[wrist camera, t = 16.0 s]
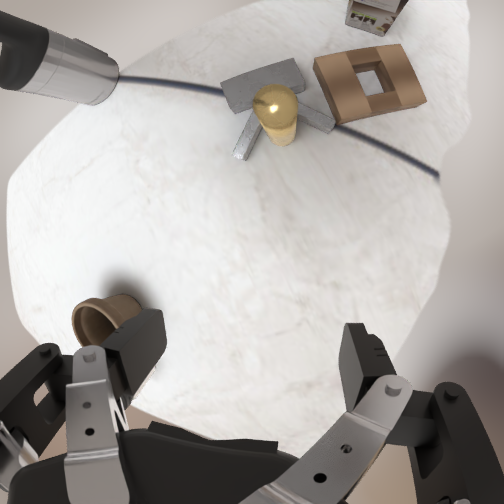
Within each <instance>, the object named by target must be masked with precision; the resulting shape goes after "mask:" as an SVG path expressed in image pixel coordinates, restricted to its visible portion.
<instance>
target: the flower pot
mask: <svg viewBox="0 0 504 504" xmlns="http://www.w3.org/2000/svg"><path fill="white" fill-rule="evenodd" d="M141 311H142V309H141V307H140V305H139V303H138V302H137V301H136V300H135V299H134V298H132V297H131V296H129V295H125V294H121V295H116V296H112V297H108V298H105V299H99V298H90V299H87V300H85V301H83V302H81V303H79V304H78V305H77V306H76V307H75V308H74V310H73V313H72V326H73V330H74V333H75V336H76V338H77V340H78V342H79V343H80V345H81V346H82V347H85V346H91V345H95V346H99V345H101V344H102V343H103V342H104V341H105V340H106V339H107V338H108V337H109V336H110V335H111V334H112V333H113V332H114V331H115V330H116V329H117V328H119V326H120V325H121V324H123V323H124V322H125V321H126V320H128V319H130V318H132V317H134V316H135V317H136V316H137V315H138V314H139V313H140V312H141Z"/></svg>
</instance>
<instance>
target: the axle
mask: <svg viewBox="0 0 504 504" xmlns="http://www.w3.org/2000/svg"><path fill="white" fill-rule="evenodd" d="M253 110H254V113H255V115H256V116H257V118H258V120H259V121H260V123H261V125H262V126H263V128H264V130H265V131H266V133H267V135H268V137H269V138H270V140H271V141H272V142H273V143H274V144H275V145H277V146H287V145H289V144H290V143H292V142H293V140H294V138H295V133H296V123H297V113H298V100H297V97H296V95H295V94H294V92H293V91H292V90H291V89H289V88H288V87H286V86H284V85H280V84H270V85H267V86H264V87H262V88H261V89H260V90H259V91H258V92H257V93H256V94H255V96H254V99H253Z"/></svg>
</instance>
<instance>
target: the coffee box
mask: <svg viewBox="0 0 504 504" xmlns="http://www.w3.org/2000/svg"><path fill="white" fill-rule="evenodd" d="M407 2H408V0H349V3H348V10H347V16H346V22H345V24H346V25H349V26H352V27H356V28H359V29H362V30H365V31H368V32H370V33H373V34H376V35H379V36H384V35H385V33H386V32H387V31H388V29H389V28H390V26H391V25H392V23H393V22H394V21H395V19H396V17H397V16H398V15H399V13H400V12H401V10H402V9H403V7H404V6H405V5H406V3H407Z"/></svg>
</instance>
